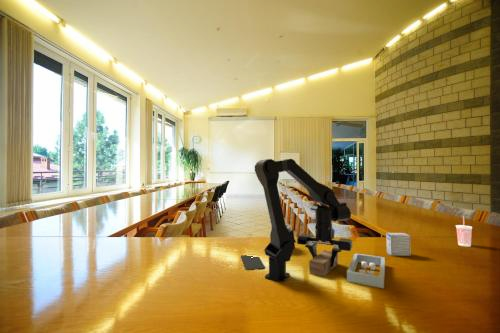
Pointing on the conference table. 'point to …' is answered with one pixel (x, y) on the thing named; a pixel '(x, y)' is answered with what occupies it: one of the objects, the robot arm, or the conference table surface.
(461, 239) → the beverage cup
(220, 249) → the conference table surface
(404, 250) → the medicine box
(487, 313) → the conference table surface
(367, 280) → the peg frame
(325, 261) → the brown block
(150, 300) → the conference table surface
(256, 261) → the phone
